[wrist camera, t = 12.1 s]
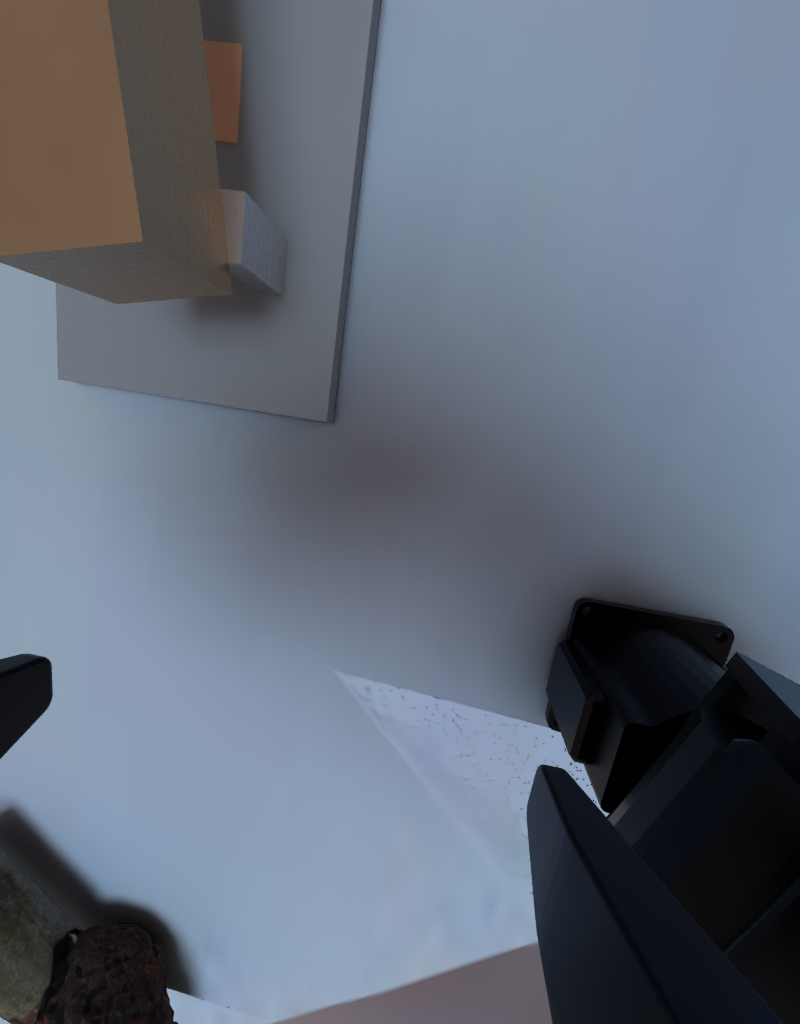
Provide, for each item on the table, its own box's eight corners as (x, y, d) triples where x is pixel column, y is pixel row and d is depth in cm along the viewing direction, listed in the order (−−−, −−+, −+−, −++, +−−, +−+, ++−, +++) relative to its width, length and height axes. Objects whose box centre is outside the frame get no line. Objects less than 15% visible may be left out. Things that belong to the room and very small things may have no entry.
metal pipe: (-44, 843, 25) (-177, 962, 20) (20, 792, 24) (-104, 905, 18) (160, 1025, 28) (91, 1178, 22) (231, 989, 26) (176, 1142, 21)
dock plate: (412, -274, 13) (409, -333, 12) (332, 422, 18) (325, 422, 17) (67, -283, 14) (36, -339, 13) (78, 381, 19) (56, 379, 18)
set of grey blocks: (319, -135, 14) (277, -320, 10) (283, 297, 17) (240, 264, 13) (105, -145, 14) (-3, -325, 11) (106, 273, 17) (21, 235, 14)
